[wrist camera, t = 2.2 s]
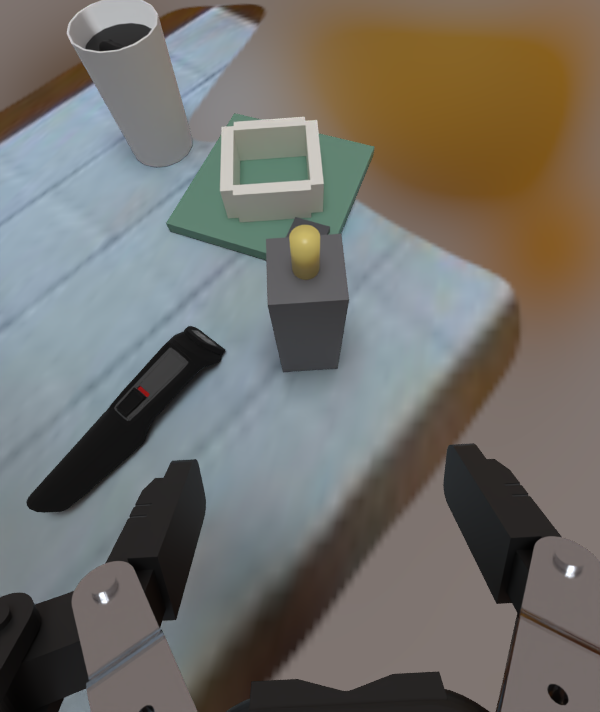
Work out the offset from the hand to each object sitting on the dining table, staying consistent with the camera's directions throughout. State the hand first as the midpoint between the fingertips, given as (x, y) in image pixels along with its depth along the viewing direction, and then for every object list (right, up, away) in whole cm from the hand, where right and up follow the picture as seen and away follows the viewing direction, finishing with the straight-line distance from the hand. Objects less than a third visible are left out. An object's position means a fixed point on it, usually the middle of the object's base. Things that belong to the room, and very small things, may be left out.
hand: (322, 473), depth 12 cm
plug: (0, +5, +16) cm, 17 cm away
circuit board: (-3, +19, +22) cm, 29 cm away
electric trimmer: (-12, -1, +15) cm, 19 cm away
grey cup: (-14, +24, +25) cm, 37 cm away
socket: (-3, +19, +21) cm, 28 cm away
